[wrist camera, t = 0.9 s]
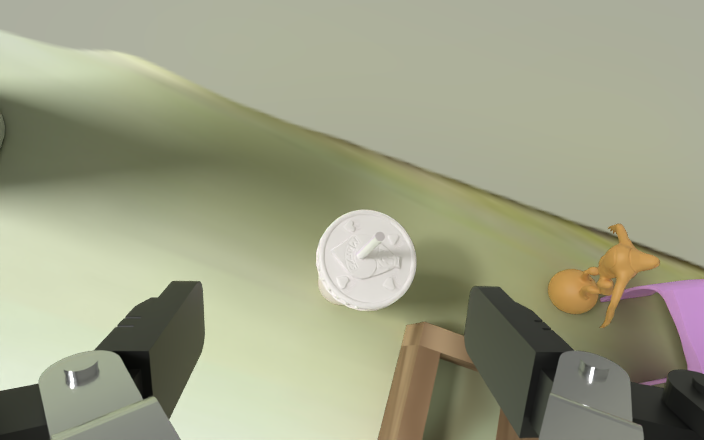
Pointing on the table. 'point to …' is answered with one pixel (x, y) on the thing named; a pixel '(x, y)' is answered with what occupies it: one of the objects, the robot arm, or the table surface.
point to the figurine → (582, 291)
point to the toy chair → (680, 316)
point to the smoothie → (365, 261)
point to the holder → (440, 392)
